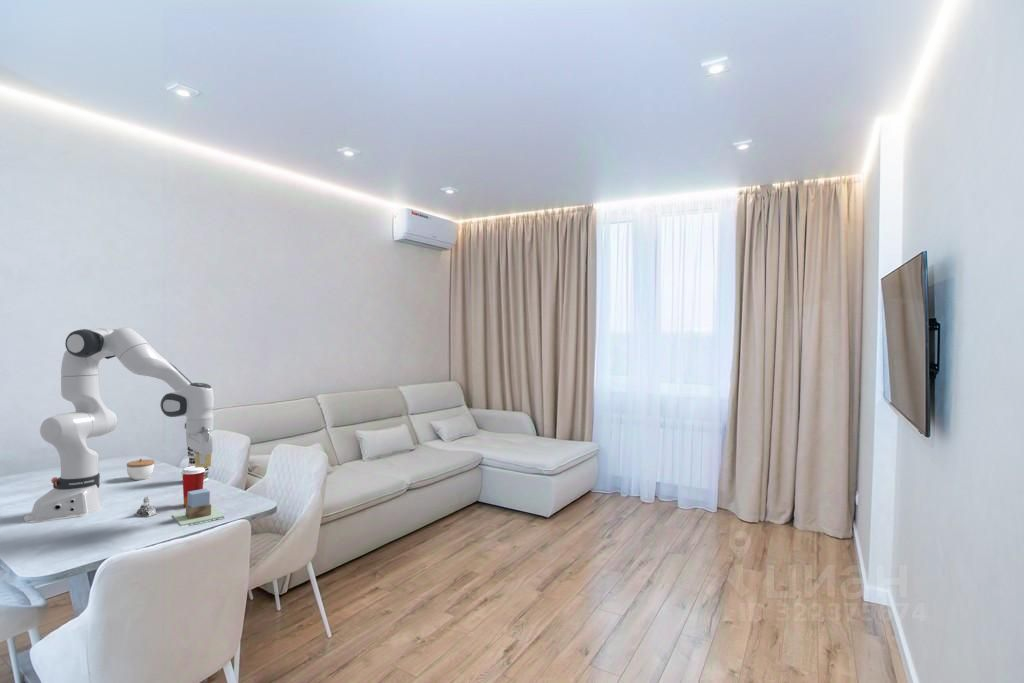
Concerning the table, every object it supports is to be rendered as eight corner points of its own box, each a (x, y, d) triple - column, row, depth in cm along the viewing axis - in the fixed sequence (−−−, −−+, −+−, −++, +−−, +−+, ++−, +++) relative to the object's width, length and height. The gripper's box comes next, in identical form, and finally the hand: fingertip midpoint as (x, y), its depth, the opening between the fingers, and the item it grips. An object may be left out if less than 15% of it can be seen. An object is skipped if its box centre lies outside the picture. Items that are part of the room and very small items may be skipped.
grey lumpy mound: (172, 513, 196) (173, 493, 196) (150, 520, 188) (151, 500, 188) (155, 510, 199) (156, 490, 199) (133, 517, 191) (133, 497, 191)
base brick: (189, 519, 186) (189, 508, 186) (185, 515, 191) (185, 504, 191) (210, 515, 191) (211, 504, 191) (206, 511, 196) (206, 500, 196)
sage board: (180, 527, 181) (181, 524, 181) (172, 517, 191) (172, 514, 191) (224, 518, 191) (224, 515, 191) (213, 509, 201) (213, 506, 201)
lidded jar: (122, 478, 239) (123, 459, 239) (148, 474, 248) (149, 455, 248) (131, 482, 233) (131, 462, 233) (158, 477, 242) (158, 458, 242)
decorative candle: (207, 482, 237) (208, 429, 236) (184, 483, 233) (185, 430, 233) (210, 477, 245) (212, 425, 245) (188, 478, 242) (189, 426, 241)
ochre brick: (195, 467, 189) (195, 454, 189) (195, 465, 192) (196, 451, 192) (210, 466, 191) (211, 453, 191) (210, 464, 195) (211, 451, 195)
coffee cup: (201, 500, 211) (202, 464, 211) (206, 505, 205) (207, 468, 205) (178, 504, 205) (178, 467, 205) (182, 509, 199) (183, 471, 199)
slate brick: (191, 508, 187) (191, 494, 187) (187, 504, 190) (187, 491, 190) (209, 504, 192) (209, 491, 192) (205, 501, 195) (205, 488, 195)
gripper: (217, 428, 186) (217, 466, 186) (201, 421, 200) (201, 456, 200) (198, 430, 181) (197, 468, 181) (183, 423, 196) (182, 458, 196)
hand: (199, 462), depth 191 cm, fingers closed on ochre brick, 5 cm apart
